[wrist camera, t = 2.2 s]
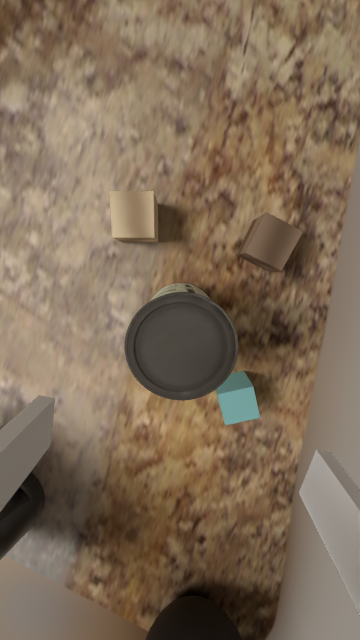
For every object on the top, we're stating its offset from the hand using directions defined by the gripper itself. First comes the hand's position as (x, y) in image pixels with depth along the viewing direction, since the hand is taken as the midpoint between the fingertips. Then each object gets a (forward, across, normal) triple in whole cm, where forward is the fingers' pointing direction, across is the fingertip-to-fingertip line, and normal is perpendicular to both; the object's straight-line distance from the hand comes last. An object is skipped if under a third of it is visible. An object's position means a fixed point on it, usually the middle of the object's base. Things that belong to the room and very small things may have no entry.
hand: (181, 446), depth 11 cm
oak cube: (+24, -9, +13) cm, 29 cm away
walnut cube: (+24, +8, +13) cm, 29 cm away
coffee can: (+24, -1, +1) cm, 24 cm away
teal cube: (+24, +10, -9) cm, 27 cm away
